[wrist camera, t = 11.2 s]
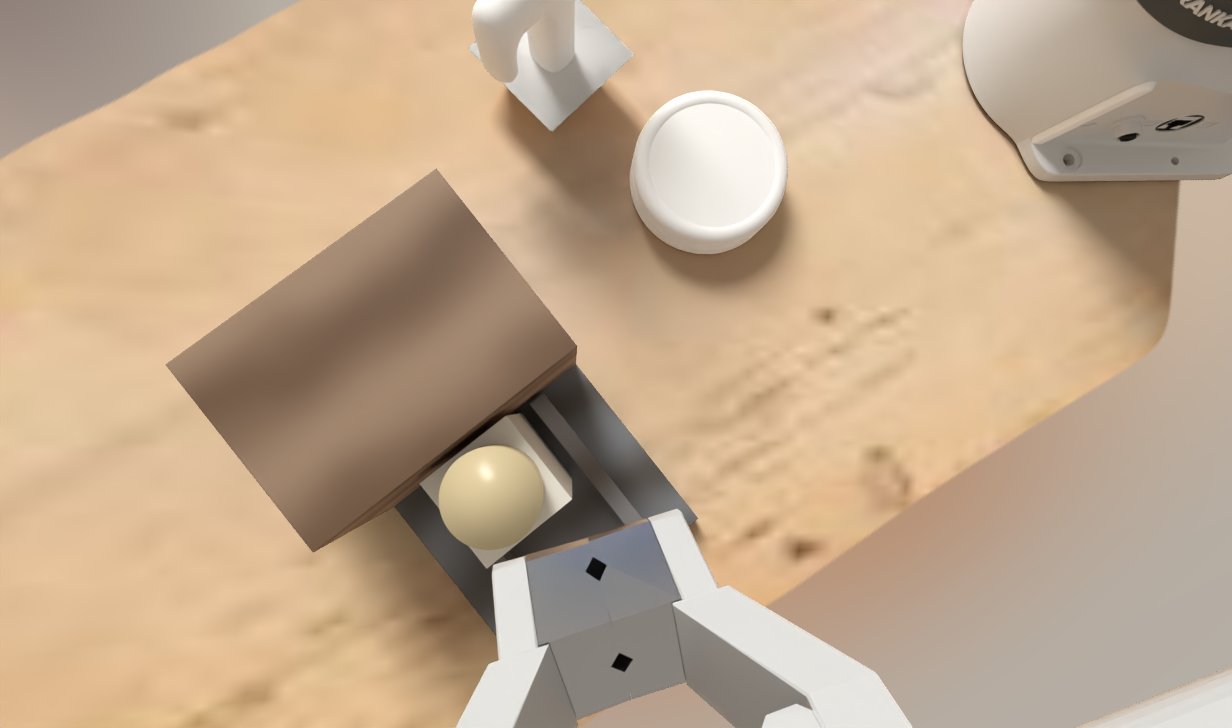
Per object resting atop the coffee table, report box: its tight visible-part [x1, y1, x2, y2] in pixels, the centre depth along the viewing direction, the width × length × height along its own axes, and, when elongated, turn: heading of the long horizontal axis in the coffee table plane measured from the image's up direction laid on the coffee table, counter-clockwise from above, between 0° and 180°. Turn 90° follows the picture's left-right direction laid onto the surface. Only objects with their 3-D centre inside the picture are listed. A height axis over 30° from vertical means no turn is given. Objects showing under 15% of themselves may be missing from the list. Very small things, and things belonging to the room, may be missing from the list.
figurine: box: [468, 0, 635, 132], centre depth 33 cm, size 7×9×15 cm
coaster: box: [630, 91, 788, 254], centre depth 39 cm, size 10×10×4 cm
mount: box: [166, 169, 698, 636], centre depth 32 cm, size 22×14×13 cm, turn 39°
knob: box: [419, 413, 572, 569], centre depth 31 cm, size 5×5×11 cm
